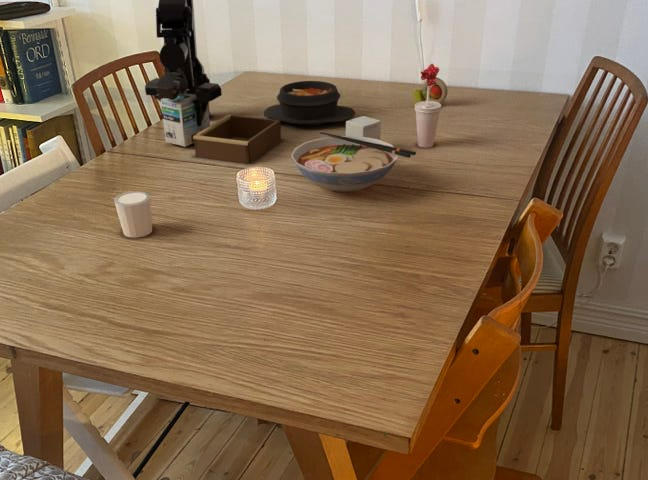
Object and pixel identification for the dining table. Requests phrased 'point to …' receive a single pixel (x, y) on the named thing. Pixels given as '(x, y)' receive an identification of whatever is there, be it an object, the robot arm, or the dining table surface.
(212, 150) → the wooden box
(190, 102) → the light bulb box
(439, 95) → the multicoloured rounded piece
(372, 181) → the ramen bowl
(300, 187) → the dining table surface
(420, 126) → the smoothie
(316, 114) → the casserole
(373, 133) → the product box
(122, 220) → the shot glass
